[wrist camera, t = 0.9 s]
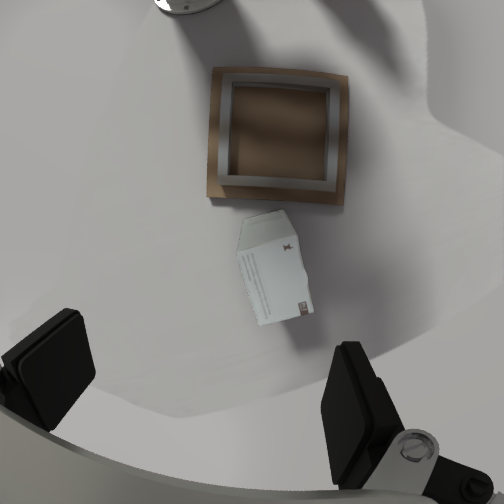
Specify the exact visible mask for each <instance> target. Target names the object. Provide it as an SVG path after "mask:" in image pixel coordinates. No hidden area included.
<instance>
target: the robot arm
mask: <svg viewBox="0 0 504 504" xmlns="http://www.w3.org/2000/svg"><path fill="white" fill-rule="evenodd" d="M154 1H155V3H156V5H157V6H158V7H159V8H160V9H162V10H163V11H165V12H168V13H172V14H190V13H195V12H199V11H202V10H205V9H207V8H209V7H211V6H213V5H215V4H216V3H218V2H219V1H221V0H154ZM1 358H2V361H3V363H4V367H1V364H0V504H504V494H502V493H501V492H498V493H497V494H495V493H493V490H494V487H493V482H492V480H491V478H490V477H489V476H488V475H487V474H485V473H483V472H481V471H479V470H476V469H473V468H470V467H467V466H465V465H462V464H460V463H457V462H454V461H452V460H449V459H447V458H444V457H442V456H440V455H439V444H438V442H437V440H436V439H435V437H433V436H432V435H431V434H430V433H428V432H426V431H424V430H420V429H408V430H405V428H404V426H403V424H402V422H401V419H400V417H399V415H398V413H397V411H396V409H395V406H394V404H393V402H392V400H391V398H390V396H389V394H388V391H387V389H386V387H385V385H384V383H383V381H382V380H381V378H379V377H376V375H375V373H374V371H373V368H372V366H371V364H370V362H369V360H368V358H367V356H366V354H365V352H364V350H363V348H362V346H361V344H360V342H358V341H343V342H342V344H341V345H337V346H336V348H335V352H334V356H333V360H332V364H331V368H330V372H329V376H328V380H327V383H326V388H325V391H324V395H323V398H322V401H321V415H322V421H323V426H324V432H325V438H326V443H327V450H328V456H329V463H330V469H331V476H332V482H333V484H334V485H338V487H339V490H327V491H326V490H322V491H321V490H318V491H275V490H258V489H245V488H234V487H226V486H218V485H211V484H205V483H199V482H194V481H188V480H183V479H179V478H174V477H170V476H165V475H161V474H157V473H153V472H150V471H146V470H143V469H139V468H135V467H132V466H129V465H126V464H123V463H120V462H117V461H114V460H111V459H109V458H106V457H103V456H100V455H98V454H95V453H93V452H90V451H88V450H85V449H83V448H81V447H78V446H76V445H74V444H71V443H69V442H67V441H65V440H63V439H61V438H59V437H57V436H55V435H53V434H51V433H49V432H50V431H51V430H54V429H55V428H56V427H57V425H58V424H59V423H60V421H61V420H62V418H63V417H64V416H65V415H66V413H67V412H68V411H69V410H70V408H71V407H72V406H73V404H74V403H75V402H76V401H77V399H78V398H79V397H80V395H81V394H82V393H83V392H84V390H85V389H86V388H87V387H88V385H89V384H90V383H91V382H92V380H93V379H94V377H95V374H96V371H95V367H94V363H93V359H92V355H91V351H90V347H89V342H88V338H87V333H86V329H85V324H84V319H83V316H82V315H81V314H80V312H79V311H78V310H74V309H69V308H65V309H63V310H62V311H60V312H59V313H57V314H56V315H55V316H53V317H52V318H51V319H49V320H48V321H47V322H45V323H44V324H42V325H41V326H40V327H38V328H37V329H36V330H35V331H33V332H32V333H31V334H29V335H28V336H27V337H25V338H24V339H23V340H21V341H20V342H19V343H18V344H16V345H15V346H14V347H13V348H11V349H10V350H9V351H8V352H6V353H5V354H4V355H3V356H1Z"/></svg>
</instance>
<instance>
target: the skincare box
mask: <svg viewBox="0 0 504 504" xmlns="http://www.w3.org/2000/svg"><path fill="white" fill-rule="evenodd" d="M236 256H237V260H238V263H239V267H240V270H241V273H242V277H243V280H244V283H245V286H246V290H247V293H248V296H249V299H250V302H251V305H252V308H253V311H254V314H255V317H256V320H257V322H258V325H259V326H262V325H267V324H271V323H275V322H279V321H283V320H287V319H291V318H294V317H298V316H302V315H305V314H309V313H313V312H314V308H313V304H312V300H311V295H310V291H309V286H308V276H307V273H306V271H305V268H304V264H303V260H302V256H301V252H300V246H299V240H298V235H297V233H296V231H295V230H294V228H293V226H292V224H291V222H290V220H289V218H288V216H287V215H286V213H285V211H284V209H282V210H277V211H274V212H270V213H266V214H262V215H258V216H255V217H251V218H247V219H244V221H243V225H242V229H241V234H240V239H239V243H238V248H237V252H236Z"/></svg>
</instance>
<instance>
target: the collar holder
mask: <svg viewBox="0 0 504 504" xmlns="http://www.w3.org/2000/svg"><path fill="white" fill-rule="evenodd" d="M347 135H348V76H343V75H337V74H330V73H323V72H315V71H306V70H295V69H283V68H264V67H213V75H212V88H211V103H210V120H209V139H208V163H207V196H206V197H220V198H245V199H264V200H281V201H296V202H310V203H322V204H334V205H343V200H344V188H345V174H346V157H347Z"/></svg>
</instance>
